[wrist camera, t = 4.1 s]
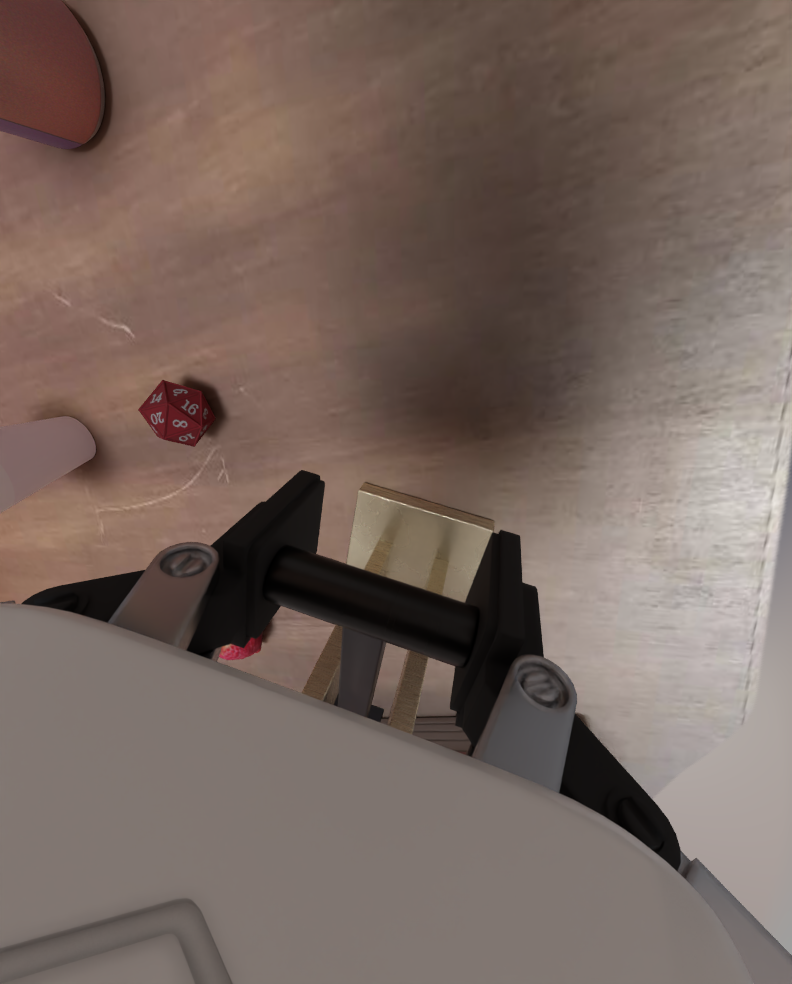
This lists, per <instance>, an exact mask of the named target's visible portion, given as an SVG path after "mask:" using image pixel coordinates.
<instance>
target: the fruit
mask: <svg viewBox="0 0 792 984" xmlns="http://www.w3.org/2000/svg"><path fill="white" fill-rule="evenodd" d="M262 638H263V635H262V633H261V635H260V636H259V637H258V638H257V639H254V638H251V639H250V641H249V642H248V643H247V645H246V646H245V647H244V648H241V647H238V646H235V645H233V644H230V645H226V646H223V647H222V648H221V652H220V655H219V657H220V658H223V659H226V660H235V659H243V658H245V657H248V656H251V655H253V654H254V653H258V652H259V651H260V650H261V645H262Z"/></svg>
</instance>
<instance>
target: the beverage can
mask: <svg viewBox="0 0 792 984" xmlns="http://www.w3.org/2000/svg"><path fill="white" fill-rule="evenodd" d="M104 107H105V91H104V83H103V78H102V73H101V69H100V66H99V62H98V59H97V57H96V54H95V52H94V49H93V47H92V45H91V43H90V41H89V39H88V37H87V36H86V34H85V32H84V31H83V29H82V28H81V26H80V24H79V23H78V21H77V20H76V18H75V17H74V16H73V14H72V13H71V11H70V10H69V9H68V8H67V6H66V5H65V4H64V3H63V2H62V1H61V0H0V131H3V132H6V133H10V134H13V135H17V136H20V137H23V138H27V139H30V140H33V141H37V142H40V143H44V144H47V145H50V146H54V147H57V148H61V149H73V148H76V147H79V146H81V145H83V144H84V143H86V142H88V141H89V140H90V139H91V138H92V137H93V136H94V135H95V134H96V133H97V131H98V129H99V127H100V125H101V122H102V119H103V114H104Z"/></svg>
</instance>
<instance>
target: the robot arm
mask: <svg viewBox="0 0 792 984" xmlns="http://www.w3.org/2000/svg"><path fill="white" fill-rule="evenodd" d="M324 488H325V482H324V481H321V480H320V476H319V475H317V474H314V473H310V472H307V471H304V470H301V471H299V472H298V473H297V474H296V475H295V476H294V477H293V478H292V479H291V480H289V481H288V482H287V483H286V484H285V485H284V486H283V487H282V488H281V489H279V490H278V491H277V492H276V493H275V494H274V495H273V496H272V497H271V498H269V499H268V500H267V501H266V502H260V503H259V504H258V505H256V506H255V507H254V508H253V509H252V510H251V511H250V512H248V513H247V514H246V515H245V516H244V517H243V518H242V519H241V520H239V521H238V522H237V523H236V524H235V525H234V526H233V527H231V528H230V529H229V530H228V531H227V532H226V533H225V534H223V535H222V536H221V537H220V538H219V539H218V540H217V541H216V542H214V543H213V544H212V545H211V546H209V545H207V544H203V543H198V542H186V543H180V544H176V545H173V546H170V547H168V548H166V549H164V550H163V551H161V552H160V553H159V554H158V555H157V556H156V557H155V558H154V559H153V561H152V562H151V563H150V565H149V566H148V567H147V569H146V570H142V571H137V572H131V573H126V574H120V575H115V576H110V577H104V578H99V579H93V580H88V581H83V582H77V583H72V584H67V585H61V586H57V587H53V588H49V589H46V590H44V591H41V592H39V593H37V594H35V595H33V596H31V597H30V598H28V599H27V600H25V601H24V602H23V603H22V604H16V603H15V601H7V602H0V984H792V955H791V954H790V953H789V952H788V951H787V950H786V949H785V948H784V947H783V946H782V945H781V944H780V943H779V942H778V941H777V940H776V939H775V938H774V937H773V936H772V935H771V934H770V933H769V932H768V931H767V930H766V929H765V928H764V927H763V926H762V925H761V924H760V923H759V922H758V921H757V920H756V919H755V918H754V916H753V915H752V914H751V913H750V912H749V911H747V909H746V908H745V907H744V906H743V905H742V904H741V903H740V902H739V901H738V900H737V899H736V898H735V897H734V896H733V895H732V894H731V893H730V892H729V891H728V890H727V889H726V888H725V887H724V886H723V885H722V884H721V883H720V882H719V881H718V880H717V879H716V878H715V877H714V875H713V874H711V872H710V871H709V870H708V869H707V868H706V867H705V866H704V865H703V864H702V863H701V862H700V861H699V860H698V859H697V858H695V859H694V860H693V861H690V860H689V859H688V858H687V857H686V856H685V855H684V854H683V853H682V852H681V851H680V847H679V843H678V840H677V837H676V833H675V832H674V830H673V828H672V826H671V824H670V822H669V820H668V819H667V817H666V816H665V815H664V813H663V812H662V811H661V809H660V808H659V807H658V805H657V804H656V803H655V802H654V801H653V800H652V799H651V798H650V796H649V795H648V794H647V793H646V792H645V791H644V790H643V789H642V788H641V786H640V785H639V784H638V783H637V782H636V781H635V780H634V779H633V778H632V776H631V775H630V774H629V773H628V772H627V771H626V770H625V769H624V768H623V766H622V765H621V764H620V763H619V762H618V761H617V760H616V759H615V758H614V756H613V755H612V754H611V753H610V752H609V751H608V750H607V749H606V748H605V747H604V745H603V744H602V743H601V742H600V741H599V740H598V739H597V738H596V737H595V735H594V734H593V733H592V732H591V731H590V730H589V729H588V728H587V727H586V725H585V724H584V723H583V722H582V721H581V720H580V719H579V718H578V717H577V715H576V714H575V709H576V704H577V694H576V691H575V688H574V685H573V683H572V682H571V680H570V679H569V677H568V675H567V674H566V673H565V672H564V671H563V670H562V669H561V668H560V667H559V666H557V665H556V664H554V663H553V662H551V661H550V660H548V659H546V658H544V655H543V645H542V634H541V623H540V613H539V602H538V592H537V588H536V587H535V586H532V585H528V584H525V583H522V565H521V544H520V536H519V535H516V534H513V533H510V532H506V531H503V530H500V532H499V534H496V533H492V534H491V536H490V539H489V541H488V544H487V546H486V549H485V552H484V554H483V557H482V559H481V562H480V564H479V567H478V570H477V572H476V575H475V577H474V580H473V582H472V585H471V588H470V590H469V593H468V595H467V598H466V601H465V603H468V604H471V605H474V606H476V607H478V608H479V624H478V630H477V634H476V639H475V643H474V646H473V649H472V652H471V655H470V658H469V660H468V662H467V664H466V665H465V667H464V668H459V667H456V666H455V673H454V681H453V688H452V695H451V702H450V709H451V710H454V711H457V714H456V722H455V726H457V727H460V728H462V730H463V731H464V733H465V734H466V736H467V737H468V739H469V740H470V745H469V747H468V749H467V752H466V754H465V755H464V754H462V753H459V752H456V751H454V750H451V749H449V748H446V747H443V746H441V745H438V744H435V743H433V742H430V741H427V740H425V739H422V738H420V737H417V736H414V735H412V734H409V733H406V732H404V731H401V730H398V729H396V728H393V727H390V726H388V725H385V724H383V723H380V722H377V721H375V720H372V719H369V718H367V717H364V716H361V715H359V714H356V713H353V712H351V711H348V710H345V709H343V708H340V707H337V706H335V705H332V704H329V703H327V702H324V701H321V700H319V699H316V698H313V697H310V696H308V695H305V694H302V693H300V692H297V691H294V690H292V689H289V688H286V687H284V686H281V685H278V684H276V683H273V682H270V681H267V680H265V679H262V678H259V677H257V676H254V675H251V674H249V673H246V672H243V671H240V670H238V669H235V668H232V667H229V666H227V665H224V664H221V663H219V662H217V660H218V658H219V655H220V652H221V648H222V647H223V646H226V645H230V644H233V645H235V646H238V647H241V648H244V647H245V646H246V645H247V643H248V642H249V641H250V639H251V638H254V639H257V638H258V637H259V636H260V635H261V633H262V632H263V630H264V629H265V627H266V626H267V625H268V623H269V622H270V620H271V619H272V618H273V616H274V615H275V613H276V612H277V610H278V609H279V608H280V605H277V604H275V603H272V602H269V601H267V600H266V599H265V598H264V596H263V586H264V581H265V577H266V574H267V571H268V569H269V566H270V564H271V562H272V560H273V559H274V557H275V555H276V554H277V553H278V551H279V550H280V549H281V548H282V547H284V546H287V545H290V546H293V547H296V548H299V549H302V550H305V551H308V552H312V553H315V554H316V552H317V545H318V537H319V529H320V521H321V512H322V504H323V496H324Z"/></svg>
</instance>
